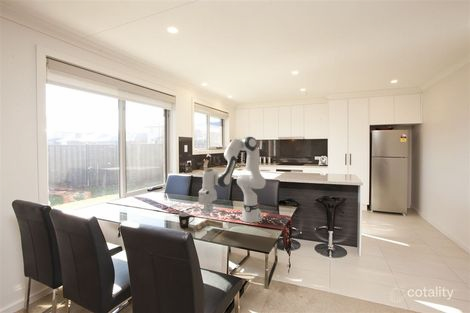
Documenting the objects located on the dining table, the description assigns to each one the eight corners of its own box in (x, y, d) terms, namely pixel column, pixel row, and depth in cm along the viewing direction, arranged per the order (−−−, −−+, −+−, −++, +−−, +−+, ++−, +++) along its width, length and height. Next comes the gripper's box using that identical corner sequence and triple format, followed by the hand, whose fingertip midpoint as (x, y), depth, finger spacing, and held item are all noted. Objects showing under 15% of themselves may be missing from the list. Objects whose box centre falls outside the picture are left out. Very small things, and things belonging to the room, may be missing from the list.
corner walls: (206, 224, 193) (206, 219, 193) (222, 227, 186) (222, 222, 186) (194, 230, 179) (194, 225, 178) (211, 234, 171) (211, 229, 171)
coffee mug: (176, 228, 184) (176, 215, 183) (182, 224, 192) (181, 212, 191) (190, 229, 180) (190, 217, 180) (195, 226, 189) (195, 213, 188)
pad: (205, 226, 187) (205, 226, 187) (213, 228, 184) (213, 228, 184) (201, 229, 182) (201, 229, 182) (208, 231, 178) (208, 230, 178)
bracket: (201, 212, 181) (201, 205, 181) (205, 210, 185) (205, 203, 185) (209, 213, 178) (209, 206, 177) (212, 212, 182) (212, 205, 182)
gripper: (212, 187, 192) (212, 204, 193) (197, 192, 174) (197, 210, 175) (218, 188, 189) (218, 205, 190) (204, 193, 171) (204, 211, 172)
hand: (208, 207), depth 183 cm, fingers closed on bracket
